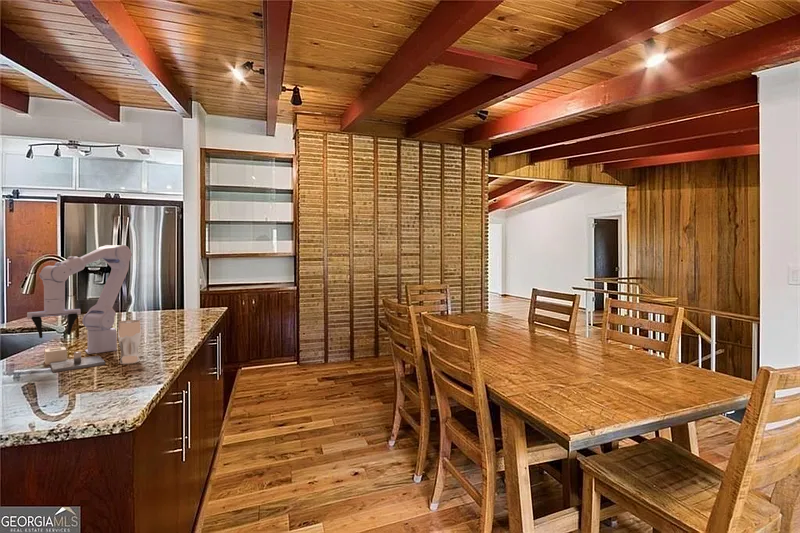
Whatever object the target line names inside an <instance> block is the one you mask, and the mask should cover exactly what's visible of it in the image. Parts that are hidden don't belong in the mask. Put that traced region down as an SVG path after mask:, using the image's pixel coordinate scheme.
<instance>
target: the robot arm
mask: <svg viewBox="0 0 800 533" xmlns="http://www.w3.org/2000/svg"><path fill="white" fill-rule="evenodd" d="M132 255H133V254H132V251H131V250H130V248H129V246H127V245H125V244H121V245H119V244H118V245H116V244H115V245H112V244H111V245H110V244H104V245H103V246H99V247H98V248H96V249H94V250H92V251H91V252H88V253H86V254H83V255H82V256H80V257H78V256H77V255H76V256H74V255H72V256H71V255H70V256H68V257H67V259H65V260H63V261H57V262H55V263H54V265H46V266H44V267H43V268H42V269H41V271H40V273H38V276H39V278H40V280H42V285H43V310H41V311H39V310H38V311H29V312H27V313H26V314H27V315H26V318H27V319H31V321H32V322H33V324H34V325H35V328H36V330H37V332H38V337H39V339H42V338H43V328H42V327H43V326H42V325H43V320H42V318H47V317H59V316H60V317H62V316H66V321H67V324H66V325H67V327H66V335H67V336H70V335H71V332H72V328H73V326H74V324H75V322H76V320H77V319H78V315H82V314H81V308H69V309H67V308H66V292H65V291H66V290H65V289H66V286H65V285H66V283H65V282H66V281H67V280H68V278H69V277H70V276H72V275H74V274H77V273H80V272H81V271H83V270H84V269H85V267H86V266H87V265H89V264H91V263H95V262H97V261H99V260H103V261H104V262H105V263H106V264H107V265H108V266H109V267H110V268H111V270H110V273H109V274H108V276H107V279H106V282H105V284H104V286H103V288H102V291H101V293H100V295H99V298H98V299H97V302H96V303H95V305H93V306H91V307H90V308H89V309H88V311H87V313H85V314H84V315H83V318H82V319H81V320H82V321H81V322H82V325H83V326H84V327H85V330H86V331H87V335H86V336H87V349H84V351H85V352H86V353H87V355H91V354H98V353H99V354H100V353H106V352H107V353H108V352H115V351H117V350H118V341H117V340H118V331H117V329H116V327H113V325H114V324H115V317H116V311H115V310H114V308H113V307H114V305H115V302H116V300H117V298H118V295H119V293H120V291H121V288H122V285H123V283H124V280H125V279H126V276H127V274H128V272H129V269H130V260H131V259H132Z"/></svg>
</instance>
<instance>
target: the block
mask: <svg viewBox="0 0 800 533" xmlns="http://www.w3.org/2000/svg"><path fill="white" fill-rule="evenodd" d="M67 354H68V351H67V348H66V347H65V346H61V347H53V348H51V347H50V348H45V349H44V363H45V365H46V366H47V365H50V362H56V361H63V360H68V358H67V356H68V355H67Z"/></svg>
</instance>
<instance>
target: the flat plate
mask: <svg viewBox="0 0 800 533" xmlns="http://www.w3.org/2000/svg"><path fill="white" fill-rule="evenodd" d="M105 365H106V361H105V360H104V359H103V358H102V357H101V356H100V355H95V356H86V357H85V356H84V357H82V351H74V352H73V358H72V359H67V360H63V361H56V362H50V364H49V366H50V370H52V372H53V373H59V372H65V371H71V370H78V369H79V370H80V369H85V368H91V367H99V366H105Z"/></svg>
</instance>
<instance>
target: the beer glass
mask: <svg viewBox="0 0 800 533" xmlns="http://www.w3.org/2000/svg"><path fill="white" fill-rule="evenodd" d="M141 337H142V327H141V320H138V319H129V320H127V319H125V320H120V321H118V328H117V340H118V345H119V349H120V359H119V364H120V365H132V364H136V363H139V362H140V355H139V354H140V353H139V346H140V342H141Z"/></svg>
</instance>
